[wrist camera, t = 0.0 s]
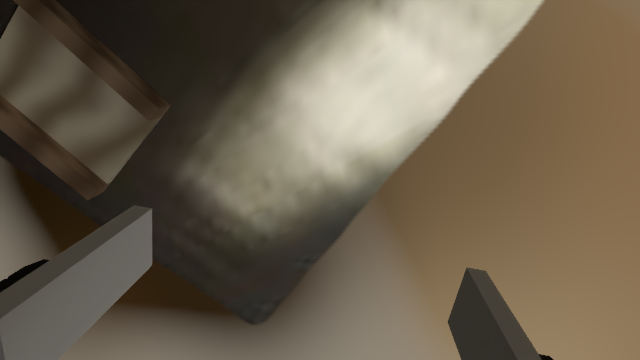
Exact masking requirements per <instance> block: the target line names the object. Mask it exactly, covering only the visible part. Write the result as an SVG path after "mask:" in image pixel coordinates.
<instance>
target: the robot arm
mask: <svg viewBox="0 0 640 360" xmlns="http://www.w3.org/2000/svg"><path fill="white" fill-rule="evenodd" d="M151 266H152V209H151V208H145V207H140V206H132V207H131V208H129V209H128V210H126V211H125V212H123V213H122V214H120V215H119V216H117V217H116V218H114V219H113V220H111V221H109V222H108V223H106V224H105V225H103V226H102V227H100V228H99V229H97V230H96V231H94V232H93V233H91V234H90V235H88V236H87V237H85V238H83V239H82V240H80V241H79V242H77V243H76V244H74V245H73V246H71V247H70V248H68V249H66V250H65V251H63V252H62V253H60V254H59V255H58V256H56V257H54V258H53V259H51V260H45V259H44V260H41V261H38V262H36V263H33V264H31V265H28V266H25V267H23V268H22V269H20V270H19V271H17V272H15V273H13V274H12V275H10V276H9V277H8V279H4V280H2V281H1V282H0V360H58V359H59V358H60V357H61V356H62V355H63V354H64V353H65V352H66V351H67V350H68V349H69V348H70V347H71V346H72V345H73V344H74V343H75V342H76V341H77V340H78V339H79V338H80V337H81V336H82V335H83V334H84V333H85V332H86V331H87V330H88V329H89V328H90V327H91V326H92V325H93V324H94V323H95V322H96V321H97V320H98V319H99V318H100V317H101V316H102V315H103V314H104V313H105V312H106V311H107V310H108V309H109V308H110V307H111V306H112V305H113V304H114V303H115V302H116V301H117V300H118V299H119V298H120V297H121V296H122V295H123V294H124V293H125V292H126V291H127V290H128V289H129V288H130V287H131V286H132V285H133V284H134V283H135V282H136V281H137V280H138V279H139V278H140V277H141V276H142V275H143V274H144V273H145V272H146V271H147V270H148V269H149V268H150V267H151ZM448 324H449V327H450V330H451V332H452V335H453V338H454V340H455V343H456V346H457V349H458V352H459V354H460V357H461V360H553V359H552V358H551V357H550V356H545V355H540V354H538V353H537V351H536V350H535V348H534V347H533V345H532V343H531V342H530V340H529V339H528V337H527V335H526V334H525V332H524V331H523V329H522V328H521V326H520V324H519V323H518V321H517V320H516V318H515V316H514V315H513V313H512V312H511V310H510V309H509V307H508V306H507V304H506V302H505V301H504V299H503V298H502V296H501V294H500V293H499V291H498V290H497V288H496V286H495V285H494V283H493V282H492V280H491V279H490V277H489V275H488V274H487V273H486V271H483V270H478V269H472V268H466V271H465V274H464V277H463V280H462V283H461V286H460V288H459V291H458V294H457V297H456V300H455V303H454V305H453V308H452V311H451V314H450V317H449V320H448Z"/></svg>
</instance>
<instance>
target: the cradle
mask: <svg viewBox="0 0 640 360" xmlns="http://www.w3.org/2000/svg"><path fill="white" fill-rule="evenodd" d="M13 1H14V2H15V3H17V4H18V5H19V6H18V8H17V10H16V11H15V13H14V15H13V17H12V19H11V21H10V22H9V24H8V26H7V28H6V30H5V32H4V33H3V35H2V37H1V39H0V129H1V130H2V131H3V132H4V133H5V134H7V135H8V136H9V137H10V138H12V139H13V140H14V141H15V142H17V143H18V144H19V145H20V146H21V147H23V148H24V149H25V150H26V151H28V152H29V153H30V154H31V155H33V156H34V157H35V158H36V159H37V160H39V161H40V162H41V163H42V164H44V165H45V166H46V167H47V168H49V169H50V170H51V171H52V172H53V173H55V174H56V175H57V176H58V177H60V178H61V179H62V180H63V181H64V182H66V183H67V184H68V185H69V186H71V187H72V188H73V189H74V190H76V191H77V192H78V193H79V194H80V195H82V196H83V197H84V198H85V199H87V200H89V199H91V198H93V197H95V196H97V195H99V194H101V193H103V192H104V190H105V189H106V188H107V186H108V185H109V184H110V183H111V181H112V180H113V179H114V177H115V176H116V175H117V174H118V172H119V171H120V170H121V169H122V167H123V166H124V165H125V163H126V162H127V161H128V160H129V158H130V157H131V156H132V155H133V153H134V152H135V151H136V149H137V148H138V147H139V146H140V144H141V143H142V142H143V140H144V139H145V138H146V137H147V135H148V134H149V133H150V132H151V130H152V129H153V128H154V126H155V125H156V124H157V123H158V121H159V120H160V119H161V118H162V116H163V115H164V114H165V112H166V111H167V110H168V109H169V107H170V106H171V105H170V104H169V103H168V102H167V101H166V100H165V99H164V98H162V97H161V96H160V95H159V94H158V93H157V92H156V91H155V90H154V89H153V88H151V87H150V86H149V85H148V84H147V83H146V82H145V81H144V80H143V79H142V78H140V77H139V76H138V75H137V74H136V73H135V72H134V71H133V70H132V69H131V68H129V67H128V66H127V65H126V64H125V63H124V62H123V61H122V60H121V59H120V58H118V57H117V56H116V55H115V54H114V53H113V52H112V51H111V50H110V49H109V48H107V47H106V46H105V45H104V44H103V43H102V42H101V41H100V40H99V39H98V38H96V37H95V36H94V35H93V34H92V33H91V32H90V31H89V30H88V29H87V28H85V27H84V26H83V25H82V24H81V23H80V22H79V21H78V20H77V19H76V18H74V17H73V16H72V15H71V14H70V13H69V12H68V11H67V10H66V9H65V8H63V7H62V6H61V5H60V4H59V3H58V2H57V1H56V0H13Z"/></svg>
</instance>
